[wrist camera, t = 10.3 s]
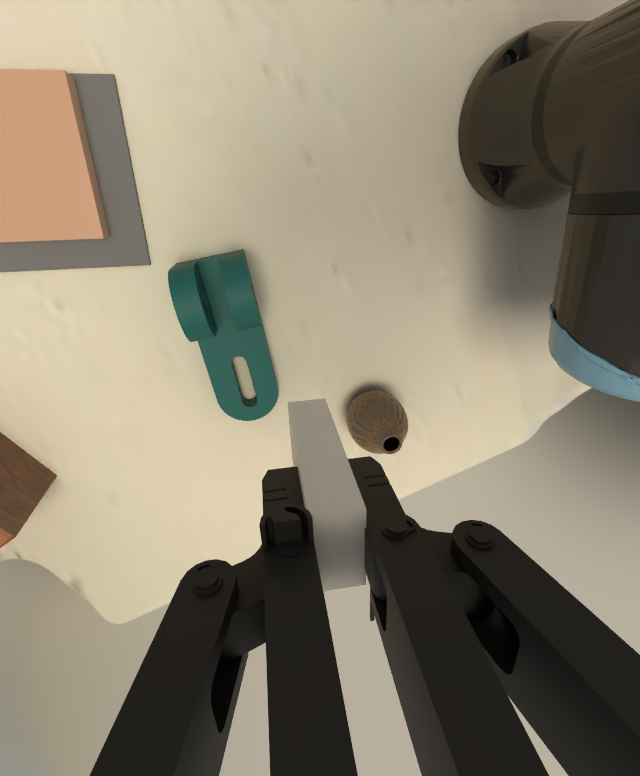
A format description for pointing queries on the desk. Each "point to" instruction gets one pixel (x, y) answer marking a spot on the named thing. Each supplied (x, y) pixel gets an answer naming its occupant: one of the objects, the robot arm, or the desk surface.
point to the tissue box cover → (19, 487)
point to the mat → (114, 188)
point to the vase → (377, 422)
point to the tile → (46, 161)
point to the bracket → (225, 329)
